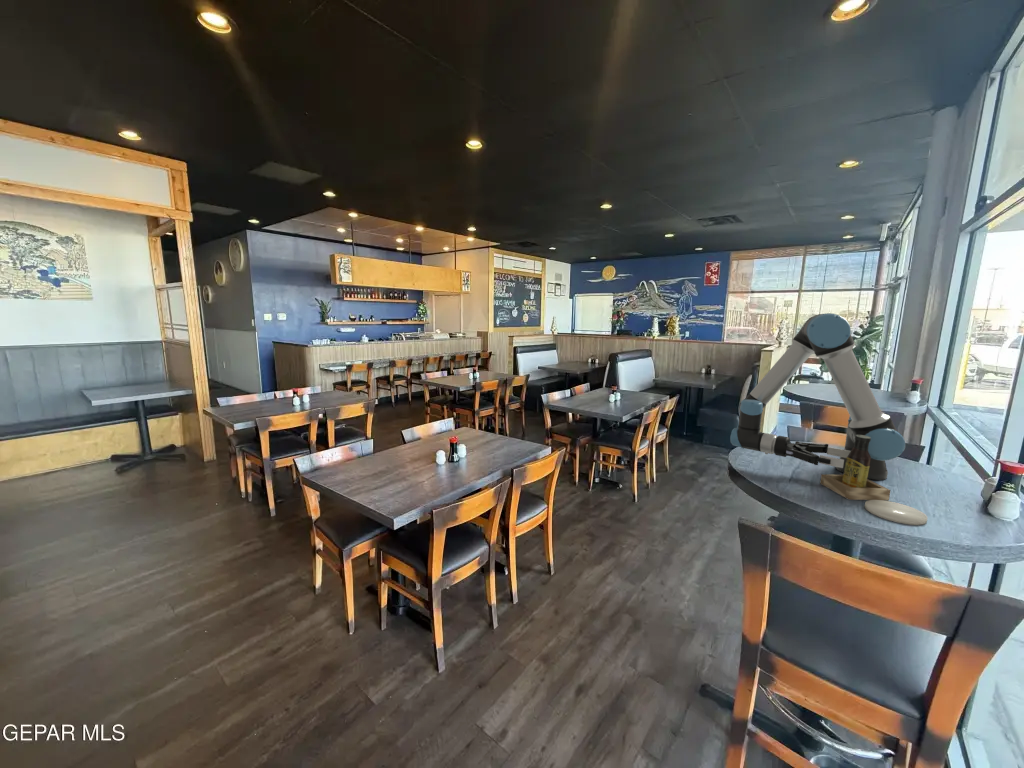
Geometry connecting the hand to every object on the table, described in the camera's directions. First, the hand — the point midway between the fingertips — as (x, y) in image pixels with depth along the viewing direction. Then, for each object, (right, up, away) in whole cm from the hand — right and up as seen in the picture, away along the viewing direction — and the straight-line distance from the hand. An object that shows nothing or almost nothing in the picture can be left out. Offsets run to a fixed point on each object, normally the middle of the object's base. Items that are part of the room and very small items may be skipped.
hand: (847, 459), depth 141 cm
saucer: (+2, -14, -16) cm, 21 cm away
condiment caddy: (+2, -11, 0) cm, 11 cm away
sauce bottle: (+2, -11, 0) cm, 11 cm away
